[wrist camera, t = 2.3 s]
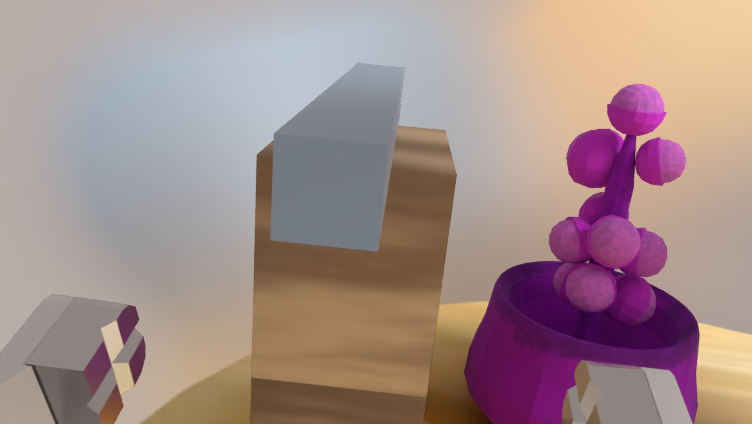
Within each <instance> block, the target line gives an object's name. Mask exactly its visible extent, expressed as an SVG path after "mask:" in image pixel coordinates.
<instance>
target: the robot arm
mask: <svg viewBox="0 0 752 424" xmlns="http://www.w3.org/2000/svg"><path fill="white" fill-rule="evenodd" d="M138 321H139V317H138V314H137V311H136V307H134V306H131V305H126V304H120V303H113V302H106V301H99V300H93V299H86V298H80V297H79V298H77V297H70V296H64V295H56V294H52V295H51V296H49V297H47V298H45V299H44V300H43V301H42V302H41V304H40V305H39V306H38V307H37V308H36V310H35V311H34V312H33V313H32V315H31V316H30V317H29V318H28V319H27V321H26V322H25V323H24V324H23V326H22V327H21V328H20V329H19V330H18V332H17V333H16V334H15V335H14V337H13V338H12V339H11V340H10V342H9V343H8V344H7V345H6V346H5V348H4V349H3V350H2V351H1V353H0V424H114V423H115V421H116V419H117V417H118V415H119V413H120V412H121V410H122V408H123V403H122V398H121V394H123V393H124V392H126V391H128V390H129V389H131V388H132V387H134V386H135V384H136V382H137V380H138V378H139V376H140V374H141V371H142V368H143V364H144V360H145V342H144V337H143V336H142V335H141V334H140V333H139V332H138V331H137V330H136V329H135V326H136V324H137V323H138ZM574 376H575V382H576V385H575V386H574V387H572V388H570V389H569V390H568V391H567V394H566V397H565V400H564V403H563V411H562V424H693V423H692V421H691V418H690V415H689V413H688V410H687V408H686V405H685V402H684V400H683V397H682V395H681V392H680V389H679V387H678V384H677V382H676V379H675V376H674V375H673V374H672V373H671V372H670V371H669V370H662V369H653V368H645V367H637V366H630V365H621V364H612V363H603V362H594V361H585V360H582V361H581V362H580V363H579V364H578V365H577V368H576V370H575V373H574Z"/></svg>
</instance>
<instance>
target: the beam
mask: <svg viewBox="0 0 752 424" xmlns="http://www.w3.org/2000/svg"><path fill="white" fill-rule="evenodd" d="M403 78H404V67H393V66H383V65H372V64H362V63H358V64H357V65H355V66H354V67H353V68H352V69H351V70H349V71H348V72H347V73H346V74H345V75H344V76H342V77H341V78H340V79H339V80H337V81H336V82H335V83H334V84H333V85H332V86H330V87H329V88H328V89H327V90H325V91H324V92H323V93H322V94H321V95H319V96H318V97H317V98H316V99H315V100H314V101H312V102H311V103H310V104H309V105H307V106H306V107H305V108H304V109H303V110H302V111H300V112H299V113H298V114H297V115H296V116H294V117H293V118H292V119H291V120H290V121H288V122H287V123H286V124H285V125H284V126H283V127H281V128H280V129H279V130H278V131H276V132H275V133H274V145H273V175H272V205H271V236H270V240H273V241H282V242H291V243H301V244H310V245H320V246H329V247H339V248H348V249H358V250H367V251H377V252H378V248H379V242H380V235H381V229H382V223H383V217H384V210H385V204H386V198H387V192H388V185H389V179H390V173H391V167H392V160H393V154H394V148H395V142H396V135H397V129H398V123H399V117H400V108H401V98H402V88H403Z"/></svg>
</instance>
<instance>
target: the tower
mask: <svg viewBox="0 0 752 424" xmlns="http://www.w3.org/2000/svg"><path fill="white" fill-rule="evenodd" d="M273 145H274V140H273V141H272V142H271V143H270V144H269V145H267V146H266V147H265V148H264V149H263V150H262V151H261V152H259V153H258V154H257V168H256V169H257V170H256V210H255V252H254V254H255V255H254V293H253V294H254V295H253V335H252V376H251V418H250V424H423V420H424V413H425V406H426V398H427V391H428V383H429V376H430V369H431V361H432V354H433V346H434V339H435V332H436V324H437V317H438V309H439V301H440V294H441V287H442V279H443V272H444V264H445V257H446V250H447V243H448V235H449V228H450V220H451V212H452V206H453V198H454V191H455V183H456V176H457V175H456V170H455V167H454V163H453V159H452V155H451V151H450V147H449V143H448V139H447V135H446V132H445V130H436V129H426V128H416V127H406V126H398V129H397V135H396V142H395V148H394V154H393V160H392V167H391V173H390V179H389V185H388V192H387V198H386V204H385V210H384V217H383V223H382V229H381V235H380V242H379V248H378V252H377V251H367V250H358V249H348V248H339V247H329V246H320V245H310V244H301V243H291V242H282V241H273V240H270V236H271V205H272V175H273Z"/></svg>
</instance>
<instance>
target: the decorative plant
mask: <svg viewBox="0 0 752 424" xmlns="http://www.w3.org/2000/svg"><path fill="white" fill-rule="evenodd" d="M607 114H608V117H609V119H610V122H611V124H612V125H613V127H615V128H616V130H618V131H620V132H621V133H623V134H627V135H626V137H625V140H623V139H622V137H621V136H620V135H619V134H618V133H617V132H615V131H612V130H610V129H597V130H590V131H587V132H585V133H582V134H580V135H578V136H577V137H576V138H575V139H574V140H573V142H572V143H571V144H570V146H569V149H568V153H567V157H566V159H567V165H568V171H569V175H570V176H571V178H572V179H573V181H574V182H576V183H579V184H581V185H584V186H586V187H589V188H602V187H605V192H600V193H597V194H594V195H592V196H591V197H589V198H588V199H587V200H586V201H585V202H584V204H583V205H582V207H581V208H580V210H579V217H568V218H566V219H565V220H564V221H561V222H559V223H558V224H557V225H555V226H554V227H553V228H552V231H551V233H550V235H549V245H550V248H551V251H552V252H553V253H554V255H555V256H556V257H557V259H559V260H561V261H563V262H560V261H540V262H539V261H538V262H530V263H524V264H520V265H516V266H514V267H512V268H509V269H507V270H506V271H505V272H503V273H502V274H501V275H500V277H499V278H498V279H497V281H496V283H495V286H494V289H493V292H492V295H491V298H490V301H489V304H488V308H487V311H486V313H485V315H484V317H483V319H482V321H481V323H480V325H479V327H478V329H477V331H476V333H475V336H474V338H473V341H472V343H471V346H470V348H469V353H468V357H467V362H466V366H465V371H464V374H465V378H466V381H467V385H468V389H469V393H470V395H471V397H472V398H473V399H474V401H475V402H476V404H477V405H478V406H479V408H480V409H481V410H482V412H483V413H484V414H485V415H486V417H487V418H488V419H489V420H490V421H491V423H492V424H562V411H563V403H564V400H565V397H566V394H567V391H568V390H569V389H570V388H572V387H574V386H575V385H576V382H575V376H574V373H575V370H576V368H577V365H578V364H579V363H580V362H581V361H582V360H585V361H594V362H603V363H612V364H621V365H630V366H637V367H645V368H653V369H662V370H669V371H670V372H671V373H672V374H673V375H674V376H675V379H676V382H677V384H678V387H679V389H680V392H681V395H682V397H683V400H684V402H685V405H686V408H687V410H688V413H689V415H690V418H691V421H692V423H693V424H694V420H695V416H696V411H697V407H698V403H697V385H696V367H697V357H698V346H699V336H700V335H699V328H698V323H697V321H696V319H695V317H694V315H693V314H692V313H691V312H690V311H689V310H688V308H687V307H686V306H684V305H683V304H682V303H680V302H679V301H678V300H677V299H676V298H674V297H673V296H671V295H669V294H668V293H666V292H665V291H663V290H661V289H659V288H657V287H655V286H653V285H651V284H649V283H648V282H647V281H646V280H645V279H644V278H642V277H649V276H652V275H655V274H658V273H659V272H660V271H661V269H662V268H663V267H664V265H665V262H666V259H667V247H666V245H665V243H664V241H663V239H662V238H660V237H659V236H658V235H656V234H655V233H652V232H649V231H646V229H645V228H635V227H634V225H633V224H632V223H631V222H629V221H628V218H629V205H630V201H631V197H632V193H633V188H634V172H635V167H636V171H637V174H638V175H639V176H640V178H641V179H642V180H643V181H645V182H647V183H649V184H652V185H661V186H663V183H667V182H672V181H673V180H675V179H676V178H678V177H680V175H681V174H682V172H683V170H684V169H685V162H686V158H685V154H684V151H683V149H682V148H681V147H680V146H679V144H677V143H674V142H672V141H670V140H661V139H660V137H658V138H655V139H651V140H649V141H647V142H646V143H644V144H643V145H641V147H640V148H639V150H638V152H637V154H636V160H635V151H636V150H635V149H636V136H640V135H644V134H647V133H649V132H652V131H653V130H654V129H655V128H656V127H657V126H659V124H661V123H662V121H663V119H664V117H665V115H666V112H664V102H663V100H662V97H661V96H660V94H659V93H658V91H657V90H656V89H654V88H652V87H650V86H647V85H644V84H633V85H628V86H626V87H624V88H623V89H621V90H620V91H619V92H618V93H617V94H616V95H615V96H614V97H613V99H612V101H611V103H610V104H608V105H607ZM587 261H589V263H585V262H587ZM618 268H619V269H620V270H621V271H622V272H624V273H625V274H623V273H620V272H616V271H614V269H618Z"/></svg>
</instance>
